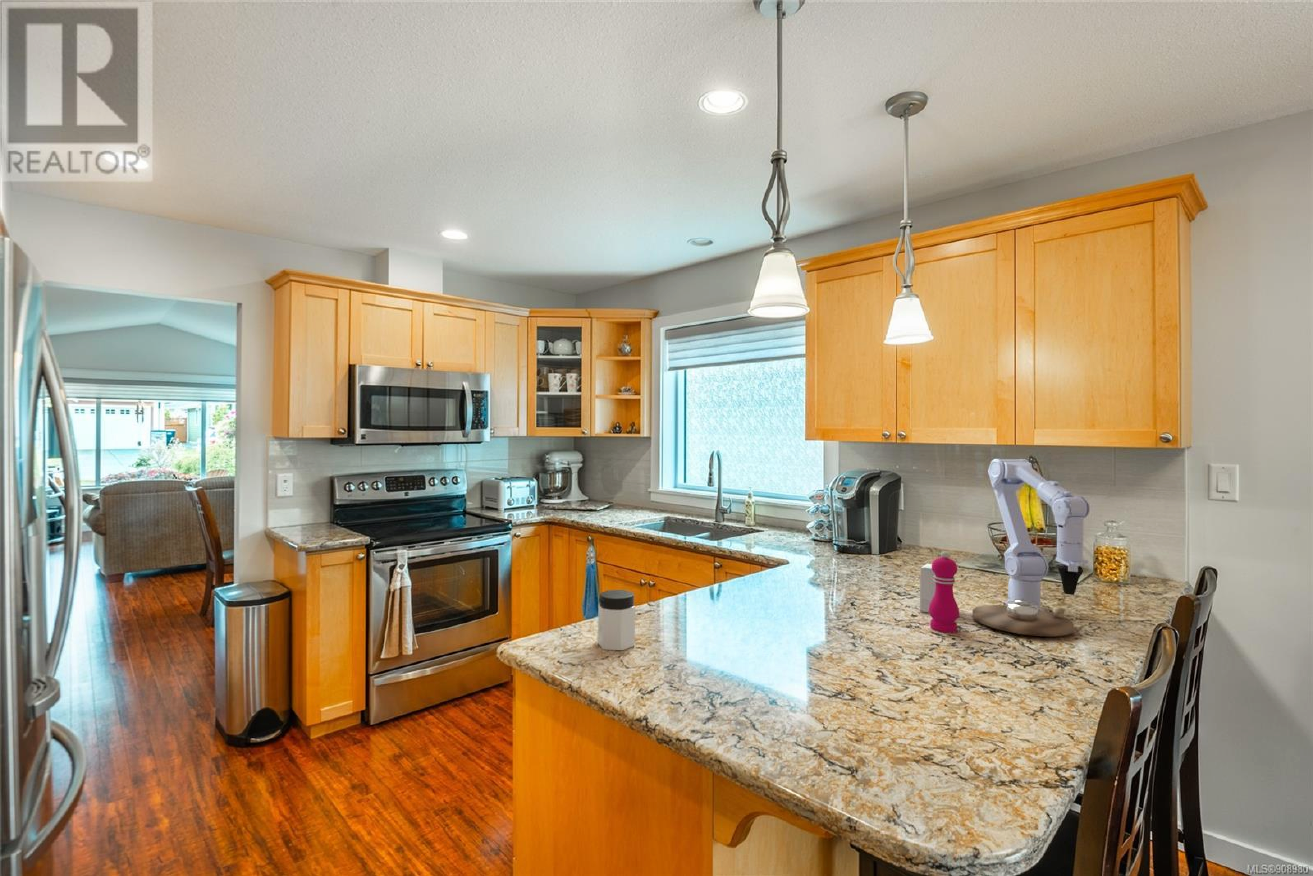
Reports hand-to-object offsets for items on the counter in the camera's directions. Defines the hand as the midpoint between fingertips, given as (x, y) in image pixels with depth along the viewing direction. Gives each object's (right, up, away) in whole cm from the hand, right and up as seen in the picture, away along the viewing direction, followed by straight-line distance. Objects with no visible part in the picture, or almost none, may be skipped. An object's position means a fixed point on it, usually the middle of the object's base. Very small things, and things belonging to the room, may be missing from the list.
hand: (1069, 593), depth 161 cm
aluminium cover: (-12, -6, 0) cm, 14 cm away
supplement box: (-29, -8, +13) cm, 33 cm away
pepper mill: (-34, -9, -3) cm, 35 cm away
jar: (-118, -8, -17) cm, 119 cm away
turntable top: (-12, -9, +1) cm, 15 cm away
